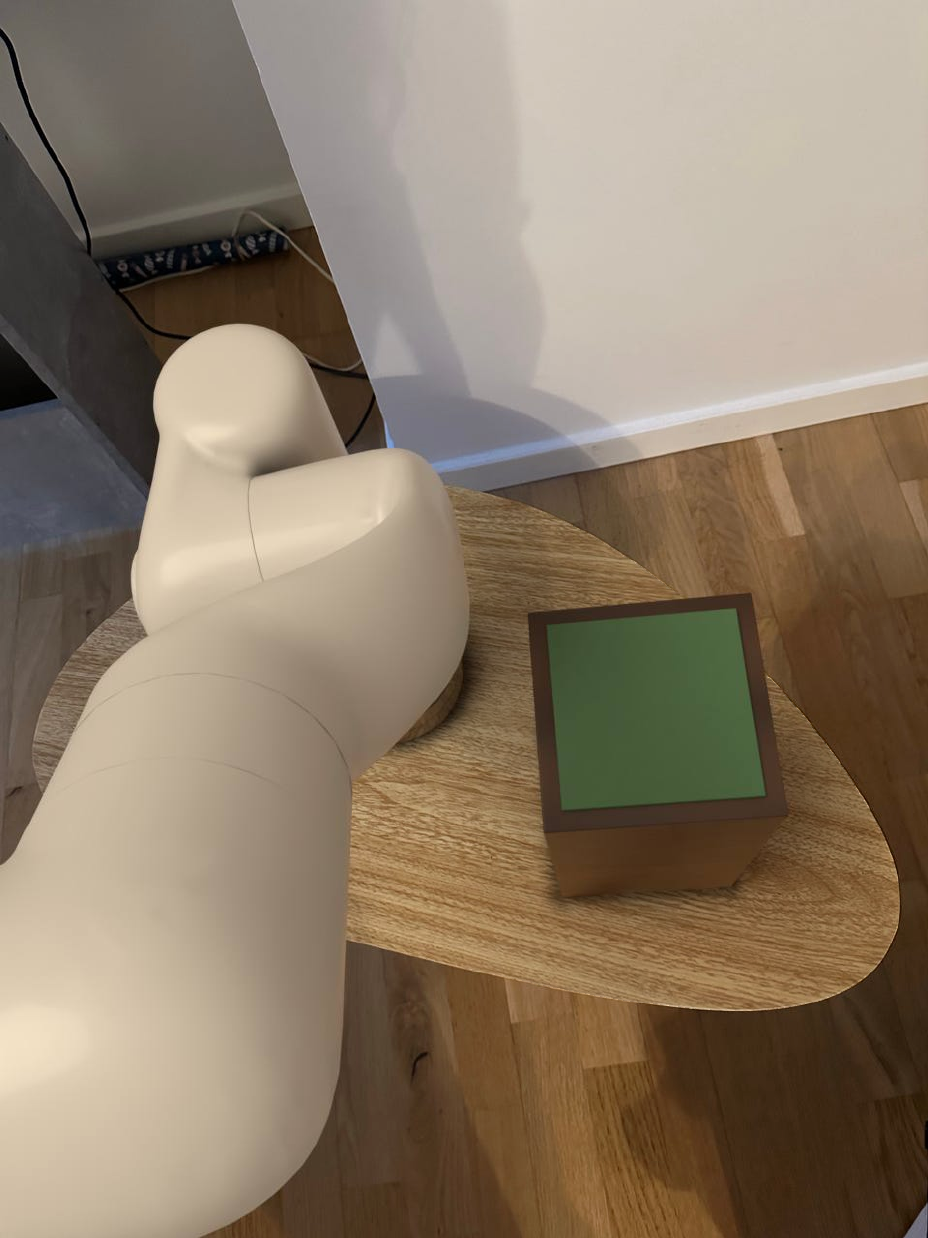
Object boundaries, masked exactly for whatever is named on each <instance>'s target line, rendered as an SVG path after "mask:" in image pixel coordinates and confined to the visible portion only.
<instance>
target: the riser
mask: <svg viewBox="0 0 928 1238" xmlns="http://www.w3.org/2000/svg"><path fill="white" fill-rule="evenodd" d="M753 599H754V598H753V594H752V592H743V593H731V594H720V595H710V596H697V597H688V598H687V597H686V598H676V599H675V598H674V599H665V600H653V601H644V602H632V603H621V604H620V603H619V604H610V605H609V604H608V605H597V606H587V607H576V608H566V609H565V608H564V609H554V610H544V611H543V610H542V611H532V612H528V613H527V629H528V641H529V655H530V656H529V657H530V668H531V669H530V670H531V680H532V681H531V682H532V695H533V708H534V709H533V710H534V721H535V736H536V749H537V750H536V751H537V760H538V762H537V763H538V774H539V787H540V801H541V803H540V805H541V815H542V829H543V834H544V839H545V841H546V842H545V843H546V845H547V849H548V852H549V856H550V859H551V863H552V866H553V870H554V873H555V877H556V881H557V883H558V887H559V891H560V895H561V897H562V898H572V897H573V898H574V897H589V896H603V895H604V896H605V895H619V894H621V895H622V894H636V893H650V892H651V893H653V892H668V891H682V890H683V891H685V890H697V889H698V890H699V889H701V890H702V889H715V888H731V887H732V886H733V885H734V883H735V882H736V881H737V880H738V878H739V877H740V876H741V874H742V873H743V872H744V871H745V870H746V868H747V867H748V866H749V865H750V864H751V862H752V861H753V860H754V858H755V857H756V856H757V855H758V854H759V852H760V851H761V850H762V849H763V847H764V846H765V845H766V844H767V843H768V842H769V840H770V839H771V837H773V835H774V834H775V833H776V831H777V830H778V829H780V827H781V825H782V824H783V823H784V822H785V821H786V820H787V818H788V817H789V811H788V805H787V804H788V803H787V797H786V793H785V787H784V786H785V785H784V780H783V774H782V767H781V763H780V762H781V761H780V757H779V750H778V744H777V738H776V732H775V726H774V720H773V713H772V708H771V707H772V706H771V703H770V702H771V701H770V696H769V689H768V682H767V679H766V678H767V677H766V672H765V666H764V658H763V653H762V647H761V641H760V636H759V630H758V623H757V618H756V611H755V606H754V600H753ZM734 608H736V610H737V617H738V623H739V629H740V636H741V642H742V648H743V655H744V661H745V667H746V673H747V680H748V686H749V692H750V699H751V705H752V711H753V718H754V724H755V730H756V736H757V743H758V749H759V755H760V762H761V768H762V774H763V781H764V787H765V793H766V796H765V797H760V798H746V799H732V800H718V801H704V802H690V803H675V804H661V805H647V806H633V807H619V808H605V809H591V810H577V811H562V807H561V795H560V783H559V771H558V759H557V746H556V734H555V722H554V710H553V698H552V685H551V673H550V661H549V649H548V637H547V625H553V624H564V623H576V622H587V621H598V620H610V619H621V618H632V617H644V616H655V615H666V614H678V613H689V612H700V611H711V610H723V609H734Z"/></svg>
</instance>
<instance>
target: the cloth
mask: <svg viewBox="0 0 928 1238" xmlns="http://www.w3.org/2000/svg"><path fill="white" fill-rule="evenodd" d="M547 637H548V649H549V661H550V673H551V685H552V698H553V710H554V722H555V734H556V746H557V759H558V771H559V783H560V795H561V807H562V811H577V810H591V809H605V808H619V807H633V806H647V805H661V804H675V803H690V802H704V801H718V800H732V799H746V798H760V797H765V796H766V793H765V787H764V781H763V774H762V768H761V762H760V755H759V749H758V743H757V736H756V730H755V724H754V718H753V711H752V705H751V699H750V692H749V686H748V680H747V673H746V667H745V661H744V655H743V648H742V642H741V636H740V629H739V623H738V617H737V610H736V608H734V609H723V610H711V611H700V612H689V613H678V614H666V615H655V616H644V617H632V618H621V619H610V620H598V621H587V622H576V623H564V624H553V625H547Z"/></svg>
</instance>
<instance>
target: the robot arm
mask: <svg viewBox="0 0 928 1238" xmlns="http://www.w3.org/2000/svg"><path fill="white" fill-rule="evenodd" d="M152 402H153V403H152V409H153V414H154V421H155V424H156V427H157V430H158V435H159V441H158V447H157V452H156V458H155V464H154V469H153V474H152V480H151V485H150V489H149V494H148V498H147V501H146V507H145V511H144V517H143V521H142V526H141V530H140V536H139V542H138V548H137V550H136V552H135V554H134V556H133V559H132V563H131V569H130V586H131V594H132V600H133V605H134V609H135V612H136V615H137V617H138V619H139V621H140V623H141V625H142V626H143V630H144V631H145V633H146V635H147V636H146V637H144V638H142V639H141V640H140V641H138V642H136V643H135V644H133V645H131V647H130V648H129V649H127V651H125V652H124V653H123V654H122V655H121V656H120V657H119V658H117V659H116V661H114V662H113V663H112V664H111V665H110V666H109V668H107V670H106V671H105V672H103V674H102V676H101V677H100V679H98V681H97V682H96V684H95V686H94V687H93V690H92V691H91V693H90V695H89V696H88V699H87V702H86V704H85V706H84V709H83V710H82V713H81V715H80V718H79V720H78V721H77V724H76V726H75V728H74V730H73V731H72V733H71V736H70V738H69V740H68V742H67V744H66V747H65V748H64V751H63V753H62V756H61V758H60V760H59V761H58V764H57V765H56V768H55V770H54V772H53V775H52V776H51V778H50V780H49V782H48V784H47V786H46V788H45V790H44V792H43V795H42V796H41V799H40V801H39V803H38V805H37V807H36V809H35V811H34V813H33V814H32V817H31V819H30V821H29V823H28V825H27V826H26V828H25V830H24V831H23V833H22V836H21V838H20V840H19V842H18V843H17V846H16V848H15V850H14V852H13V853H12V854H11V856H10V857H9V858H8V859H7V860H6V861H4V862H3V863H2V864H0V1238H202V1237H204V1236H206V1235H209V1234H212V1233H213V1232H216V1231H218V1230H220V1229H222V1228H225V1227H227V1226H229V1225H231V1224H233V1223H234V1222H236V1221H238V1220H239V1219H242V1217H244V1216H247V1214H249V1213H252V1212H253V1211H255V1210H256V1209H257V1208H258V1207H259V1206H261V1205H262V1204H263V1203H265V1202H266V1201H267V1200H269V1199H270V1198H271V1197H272V1196H274V1195H275V1194H276V1193H277V1192H278V1191H279V1190H280V1189H281V1188H282V1187H283V1186H285V1184H286V1183H287V1182H288V1181H290V1179H292V1177H293V1176H294V1175H295V1174H296V1173H297V1172H298V1171H299V1170H300V1169H301V1168H302V1167H303V1165H304V1164H305V1162H306V1161H307V1159H308V1158H309V1156H310V1155H311V1153H312V1152H313V1150H314V1148H315V1147H316V1146H317V1144H318V1142H319V1141H320V1140H319V1139H320V1138H321V1135H322V1133H323V1130H324V1129H325V1126H326V1124H327V1121H328V1119H329V1115H330V1112H331V1108H332V1105H333V1101H334V1096H335V1092H336V1088H337V1085H338V1081H339V1076H340V1071H341V1055H342V1044H343V1043H342V1042H343V1032H344V1012H345V1011H344V1009H345V983H346V980H345V979H346V957H347V956H346V955H347V936H348V935H347V931H348V915H349V914H348V911H349V887H350V866H351V865H350V864H351V863H350V861H351V838H352V818H353V817H352V815H353V785H354V784H353V783H354V782H355V781H356V780H357V779H359V777H360V778H361V776H362V775H363V774H364V773H366V772H367V771H368V770H369V769H370V768H372V767H374V765H375V764H376V763H377V762H378V761H380V760H381V759H382V758H383V757H384V756H385V755H386V754H387V753H388V752H389V751H390V750H392V748H393V747H395V745H396V744H398V743H397V742H398V741H399V740H400V739H401V738H402V737H403V736H404V735H405V734H406V733H407V732H408V730H409V729H410V728H411V727H412V726H413V725H414V724H415V723H416V721H417V720H418V719H419V718H420V717H421V716H422V715H423V713H424V712H425V711H426V710H427V709H428V708H429V707H430V705H431V704H432V703H433V702H434V701H435V700H436V699H437V698H438V696H439V695H440V694H441V692H442V691H443V690H444V688H445V687H446V686H447V684H448V683H449V681H450V680H451V678H452V676H453V674H454V673H455V671H456V669H457V667H458V665H459V663H460V660H461V658H462V657H463V655H464V652H465V649H466V645H467V640H468V636H469V629H470V594H469V583H468V577H467V570H466V562H465V559H464V553H463V545H462V539H461V534H460V529H459V525H458V520H457V516H456V513H455V508H454V506H453V503H452V501H451V497H450V495H449V493H448V491H447V488H446V487H445V485H444V483H443V481H442V479H441V477H440V475H439V474H438V472H437V471H436V470H435V468H434V467H433V466H432V465H431V464H430V463H429V462H428V461H427V460H426V459H425V458H424V457H423V456H421V455H420V454H418V453H416V452H414V451H411V450H409V449H405V448H401V447H383V448H376V449H369V450H365V451H361V452H355V453H352V454H349V453H348V450H347V448H346V446H345V444H344V441H343V439H342V437H341V434H340V432H339V430H338V427H337V425H336V423H335V420H334V418H333V416H332V414H331V412H330V408H329V406H328V404H327V402H326V400H325V397H324V395H323V392H322V390H321V387H320V385H319V383H318V381H317V379H316V376H315V374H314V371H313V370H312V368H311V366H310V365H309V362H308V360H307V359H306V357H305V356H304V355H303V353H302V352H301V350H300V349H299V348H298V347H297V346H296V345H295V344H294V343H292V342H291V341H290V340H289V339H287V338H286V337H285V336H284V335H283V334H281V333H280V332H279V333H278V332H277V331H275V330H272V329H270V328H267V327H265V326H261V325H256V324H251V323H230V324H222V325H219V326H214V327H212V328H209V329H207V330H204V331H201V332H200V333H197V334H196V335H194V336H192V337H190V338H189V339H188V340H186V341H185V342H184V343H183V344H182V345H180V346H179V347H178V348H177V349H176V350H175V351H173V353H172V354H171V355H170V357H168V359H167V361H166V362H165V364H164V365H163V367H162V369H161V371H160V373H159V375H158V378H157V380H156V382H155V387H154V391H153V400H152Z"/></svg>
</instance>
